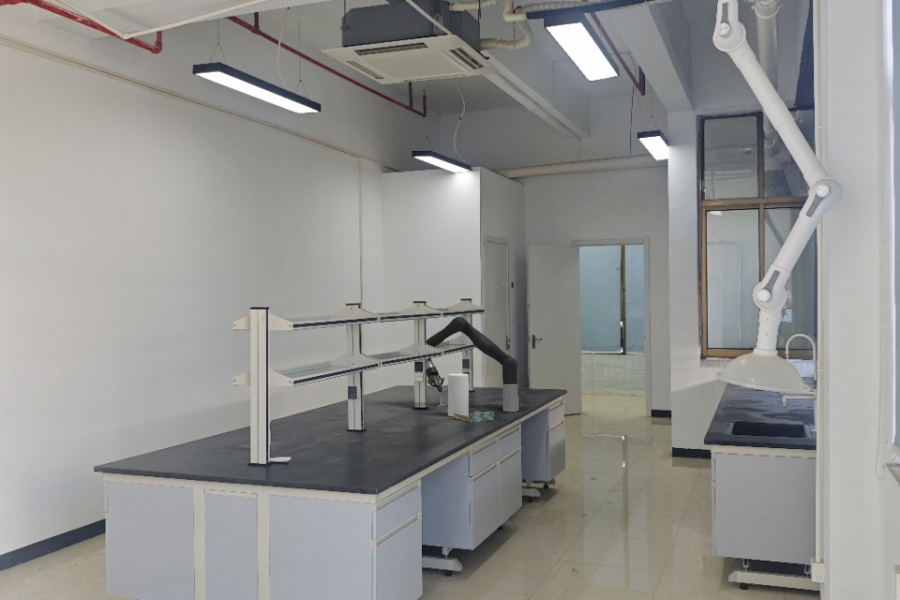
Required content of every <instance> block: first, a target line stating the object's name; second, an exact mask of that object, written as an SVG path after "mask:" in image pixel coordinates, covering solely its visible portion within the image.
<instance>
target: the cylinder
mask: <svg viewBox="0 0 900 600" xmlns="http://www.w3.org/2000/svg"><path fill="white" fill-rule="evenodd" d="M469 382H470V379H469V374H468V373H460V372H459V373H456V372H455V373H448V375H447V385H448V406H447V417H449V416H454V413H456V414H460V415H465V416H469V401H470V400H469V398H470V397H469V396H470V395H469V388H470V387H469Z"/></svg>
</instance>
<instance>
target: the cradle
mask: <svg viewBox="0 0 900 600" xmlns="http://www.w3.org/2000/svg"><path fill="white" fill-rule="evenodd" d="M494 414H495V412H494V411H484V412H481V411H478V410H474V412H472V413H469V415H468V416H465V415H460V414H456V413H454V417H453V419H454V418H456V419H455V420H458V419H460V420H459V421H462V420H463V422H466V421H467V423H470V422H471V424H472V422H474V423H481V421H482V422H488V421H487V420H491V421H494V420H495V419H494V417H495V416H494Z"/></svg>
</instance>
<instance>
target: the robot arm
mask: <svg viewBox="0 0 900 600" xmlns="http://www.w3.org/2000/svg"><path fill="white" fill-rule="evenodd" d="M458 333H463V334H464V335H465V336H467V338H468V339H469V340H470V341H471V343H472V344H473V345H474V346H475V347H476V349H478V350H479V351H480V352H482V353H483V354H485V355H486V356H487V357H489V358H491V359H493V360H495V361H496V362H498V363H499V364H500V365H501V366H502V369H501V370H502V374H501V375H502V376H501V377H502V411H503V412H506V411H507V413H512V412H513V413H514V412H517V411H519V410H520V407H519V405H520V404H519V403H520V401H519V400H520V399H519V398H520V396H519V395H518V394H519V393H518V391H519V390H518V381H519V380H518V367H519V362H518V361H517V360H516V358H514V357H513V356H511V355H509V354H508V353H506V352H505V351H503V350H502V349H501V348H500V347H499V346H498V345H497V344H495V342H493V341H492V340H491V339H489V338H488V337H487V336H486V335H485V334H483V333H482V332H480V331H479V330H478V329H476V328H475V327H474V326H473V325H472V324H471V323H470V322H469V321H468V320H467V319H466V318H464V317H463V316H456V317H453V318H452V319H451V321H450V322H449V323H447V325H446V326H445V327H444V328H442V329H441V330H439V331H437V332H436V333H435V334H433V335H431V336H430V337H429V338H427V339H426V340H425V342H426V343H427V344H428V345H431V346H433V347H435V348H436V347H437V346H439V345H440V344H441V343H443V342H444V341H445V340H447V339H448V338H449V337H451V336H453V335H455V334H458ZM425 374H426V377H427V380H426V383H427V384H429V385H430V386H432V387H433V388H436V390H438V391H437V392H439V393H440V392H442V390H443V388H442V387H441V386H444V385H443V384H444V382H445V377H441V375H440V373H439V371H438V369H437V367H436V365H435V363H434V362H433V359H432V358H431V357H430V358H428V359H427V361H426V373H425Z"/></svg>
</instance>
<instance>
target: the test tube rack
mask: <svg viewBox="0 0 900 600" xmlns="http://www.w3.org/2000/svg"><path fill="white" fill-rule="evenodd" d="M441 387H442V388H443V390H442V392H439V391H438V389H436V391H437V392H439V404H438V405H436V406H445V404H446V403H447V404H446V405H448V384H446V385H445V384H444V385H442V386H441ZM445 407H446V406H445Z"/></svg>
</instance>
